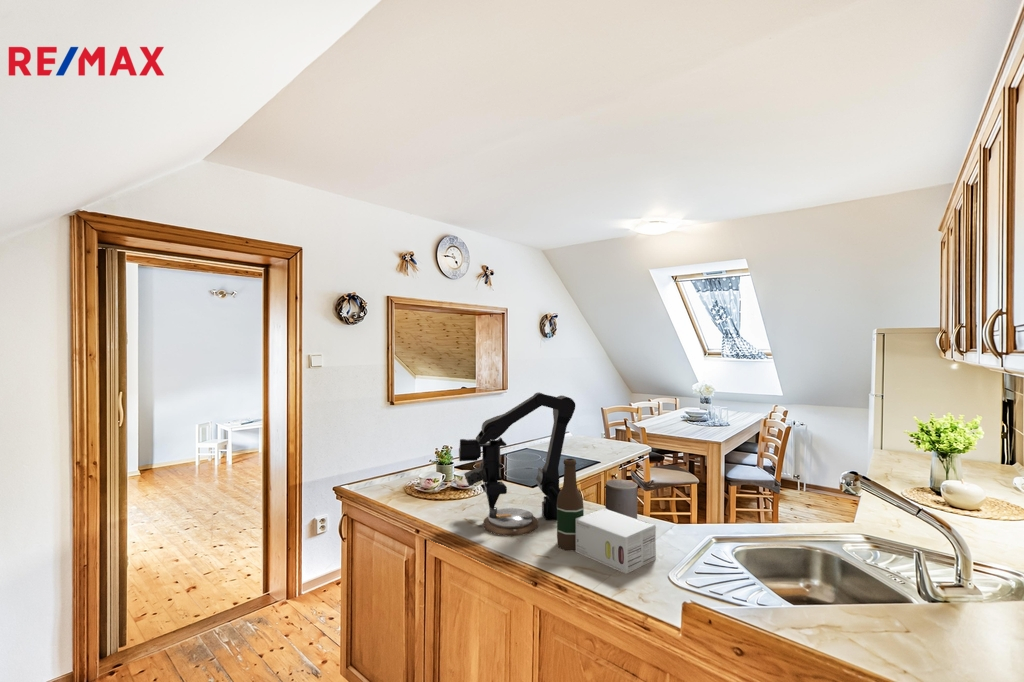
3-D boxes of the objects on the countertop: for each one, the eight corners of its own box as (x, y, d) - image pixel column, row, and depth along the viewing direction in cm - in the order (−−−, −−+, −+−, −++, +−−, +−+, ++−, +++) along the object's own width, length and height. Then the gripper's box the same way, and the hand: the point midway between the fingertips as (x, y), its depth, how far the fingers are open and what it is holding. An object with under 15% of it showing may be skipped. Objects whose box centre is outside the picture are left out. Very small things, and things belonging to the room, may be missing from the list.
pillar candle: (598, 527, 149) (598, 478, 149) (618, 519, 155) (618, 473, 155) (624, 537, 141) (625, 486, 141) (644, 529, 148) (644, 479, 148)
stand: (532, 514, 161) (532, 509, 161) (543, 533, 144) (543, 529, 144) (481, 517, 158) (481, 512, 158) (486, 537, 141) (486, 532, 141)
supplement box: (574, 552, 131) (574, 518, 131) (605, 540, 140) (605, 507, 140) (626, 575, 118) (625, 536, 118) (656, 559, 127) (656, 523, 127)
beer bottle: (587, 542, 137) (587, 457, 138) (579, 553, 130) (579, 463, 130) (561, 538, 141) (561, 455, 141) (552, 548, 133) (552, 461, 134)
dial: (528, 511, 159) (528, 499, 159) (537, 527, 145) (537, 513, 145) (486, 513, 157) (486, 501, 157) (490, 529, 143) (490, 516, 143)
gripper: (462, 454, 162) (462, 501, 162) (470, 468, 144) (470, 521, 144) (495, 453, 165) (495, 499, 164) (507, 466, 146) (507, 518, 146)
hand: (491, 508), depth 155 cm, fingers closed
